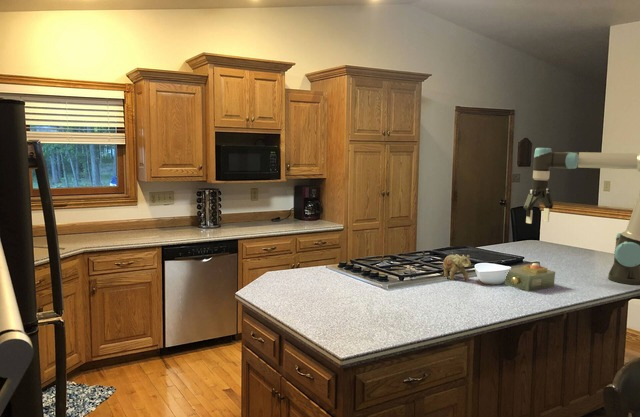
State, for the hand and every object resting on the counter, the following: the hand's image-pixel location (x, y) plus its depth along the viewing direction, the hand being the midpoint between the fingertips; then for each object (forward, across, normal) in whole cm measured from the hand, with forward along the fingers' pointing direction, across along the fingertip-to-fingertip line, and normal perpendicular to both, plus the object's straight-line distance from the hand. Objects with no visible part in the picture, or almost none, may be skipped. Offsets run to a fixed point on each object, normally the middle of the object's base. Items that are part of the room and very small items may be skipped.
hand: (537, 222), depth 264 cm
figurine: (+26, +42, -13) cm, 51 cm away
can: (+26, +17, +12) cm, 33 cm away
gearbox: (+26, +21, +12) cm, 36 cm away
